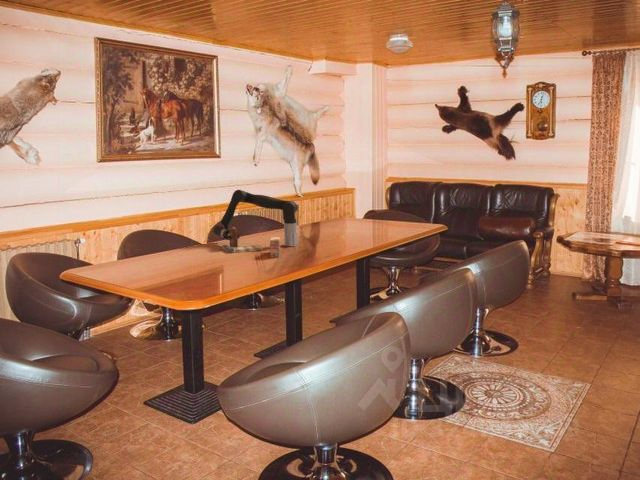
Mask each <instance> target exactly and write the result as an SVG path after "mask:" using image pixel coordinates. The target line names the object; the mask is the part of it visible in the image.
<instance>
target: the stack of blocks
mask: <svg viewBox="0 0 640 480" xmlns="http://www.w3.org/2000/svg"><path fill="white" fill-rule="evenodd" d="M269 246H270V247H269V249H270V250H269V251H270V252H269V256H270V258H280V256H281V239H280V236H271V237H270V239H269Z"/></svg>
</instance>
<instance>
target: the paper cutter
mask: <svg viewBox="0 0 640 480" xmlns="http://www.w3.org/2000/svg"><path fill="white" fill-rule="evenodd" d="M221 249H222V250H223V251H225V252H227V253H229V254H235V253H245V252H247V253H248V252H256V251H257V252H258V251H263V250H264V247H263V246H260V245H258V244H257V245H255V244H254V245H246V246H238V247H230V245H227V244H222V245H221Z"/></svg>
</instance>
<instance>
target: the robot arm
mask: <svg viewBox="0 0 640 480" xmlns="http://www.w3.org/2000/svg"><path fill="white" fill-rule="evenodd" d="M229 201H230V202H229V204H228V206H227V208H226V211H225V213H224V214H223V216H222V218H221V219H220V223H221V225H223V227H222V226H220V225H216V226H214V228H213V234H215V235H216V236H219V237H221V239H224V240H226V241H230V239H232V236H230V235H229V229H230V228H229V226H230V224H231V222H232V221H233V218H234V216H235V212H236V209H237V206H238V205H239V204H240V203H247V204H252V205H254V206H256V207H260V208H264V209H270V210H280V211H281V210H282V219H283V224H284V225H283V232H284V233H283V234H284V235H283V237H284V239H283V241H284V244H283V245H284V246H285V247H296V246H298V245H299V244H298V243H299V242H298V241H299V240H298V232H297V219H296V216H295V215H296V214H295V213H296V212H298V209H299V206H298V203H296V202H295V201H292V200H284V199H283V200H282V199H281V198H280V199H279V198H275V197H273V196H268V195H264V194H255V193H251V192H247V191H244V190H241V189H237V190H234V192H232V196H231V199H230V200H229ZM239 238H240V233H239V232H237V239H238V240H239Z"/></svg>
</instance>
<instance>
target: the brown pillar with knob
mask: <svg viewBox="0 0 640 480" xmlns="http://www.w3.org/2000/svg"><path fill="white" fill-rule="evenodd" d="M228 229H229V235H230V236H232V239H230V240H229V247H231V248H232V247H239V245H238V240H239V239H237V234H238V229H237V228H236V227H235V226H232V227H231V228H228Z"/></svg>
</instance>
